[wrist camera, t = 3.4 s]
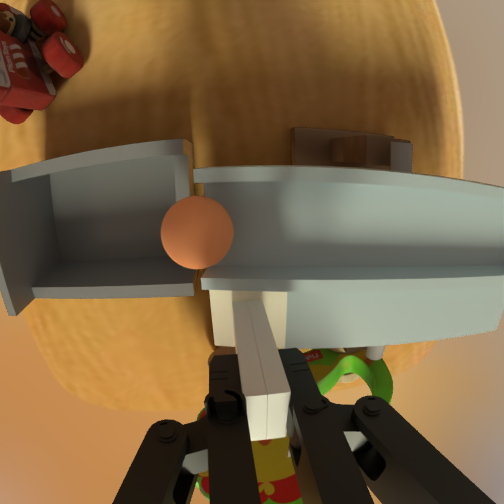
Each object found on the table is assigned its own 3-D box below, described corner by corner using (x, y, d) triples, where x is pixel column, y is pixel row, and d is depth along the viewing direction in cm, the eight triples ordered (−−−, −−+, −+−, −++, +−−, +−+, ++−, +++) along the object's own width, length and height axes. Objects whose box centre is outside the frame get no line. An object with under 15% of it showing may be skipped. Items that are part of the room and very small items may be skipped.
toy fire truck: (57, -3, 12) (0, -49, 2) (98, 85, 16) (17, 45, 6) (2, 47, 12) (-66, 25, 3) (34, 140, 17) (-58, 144, 7)
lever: (209, 138, 14) (192, 134, 11) (514, 167, 12) (544, 173, 9) (222, 349, 18) (213, 381, 15) (479, 335, 16) (499, 358, 13)
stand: (291, 128, 19) (322, 117, 13) (387, 136, 20) (439, 135, 14) (289, 318, 24) (309, 366, 18) (372, 307, 24) (408, 346, 18)
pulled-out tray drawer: (45, 165, 17) (-22, 177, 10) (192, 143, 18) (175, 134, 11) (60, 268, 20) (8, 315, 12) (199, 262, 21) (190, 318, 14)
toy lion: (356, 308, 24) (455, 433, 10) (356, 353, 26) (430, 471, 12) (182, 350, 24) (166, 512, 9) (200, 391, 25) (200, 533, 11)
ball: (146, 204, 10) (227, 200, 10) (170, 193, 14) (235, 190, 13) (155, 280, 11) (231, 281, 11) (175, 255, 15) (237, 254, 14)
